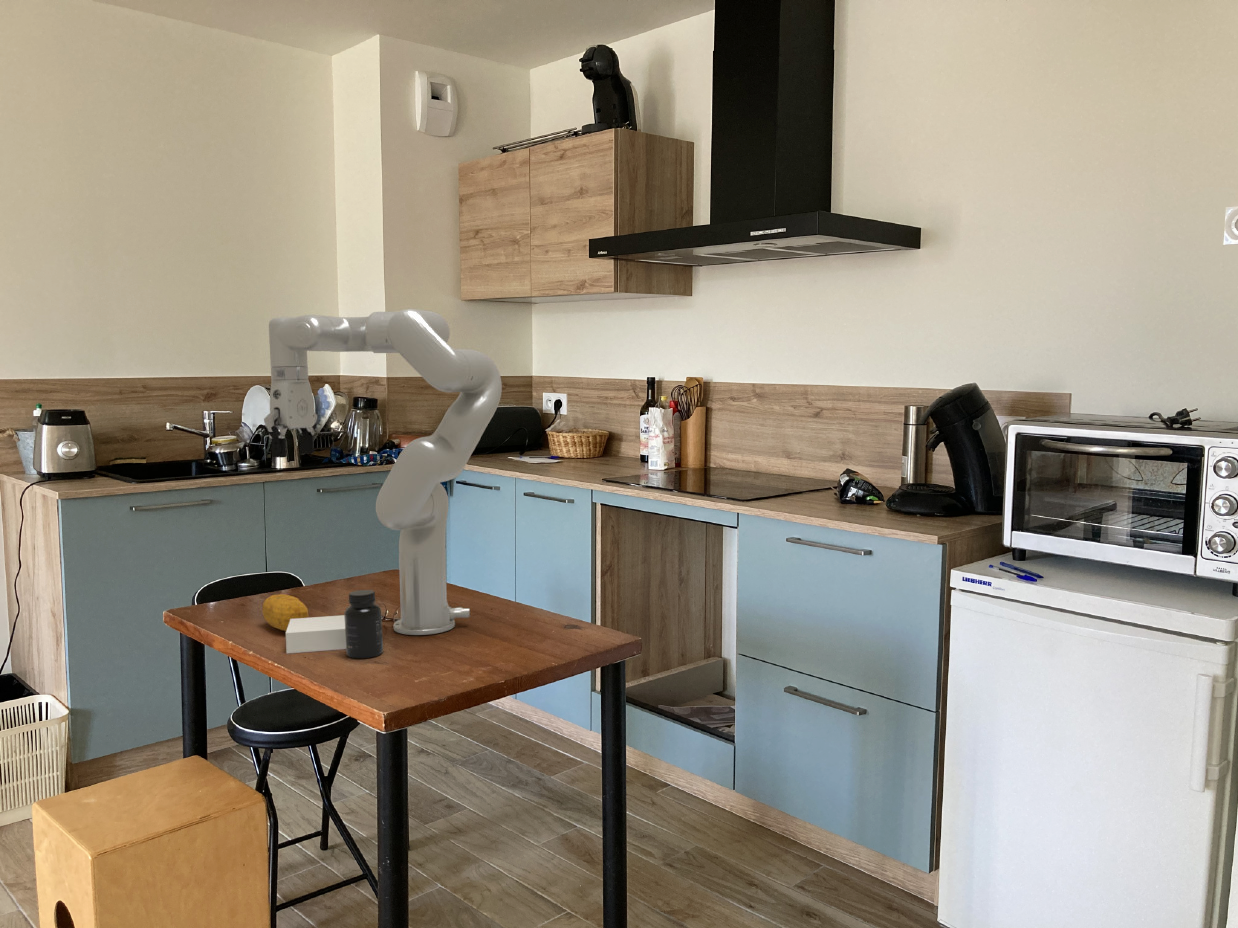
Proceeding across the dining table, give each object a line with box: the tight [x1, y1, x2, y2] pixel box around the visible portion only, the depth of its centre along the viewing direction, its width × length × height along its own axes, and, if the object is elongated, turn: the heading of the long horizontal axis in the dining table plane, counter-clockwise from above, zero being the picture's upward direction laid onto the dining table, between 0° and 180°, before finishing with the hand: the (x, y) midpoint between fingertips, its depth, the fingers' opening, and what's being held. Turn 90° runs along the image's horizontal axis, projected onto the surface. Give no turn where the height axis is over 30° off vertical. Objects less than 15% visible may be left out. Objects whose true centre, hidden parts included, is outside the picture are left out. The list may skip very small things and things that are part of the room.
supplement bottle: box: [343, 589, 384, 660], centre depth 181 cm, size 7×7×12 cm
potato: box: [261, 593, 309, 633], centre depth 200 cm, size 7×14×7 cm, turn 38°
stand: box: [285, 614, 346, 654], centre depth 189 cm, size 11×11×4 cm
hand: (293, 455), depth 206 cm, fingers open, 9 cm apart
